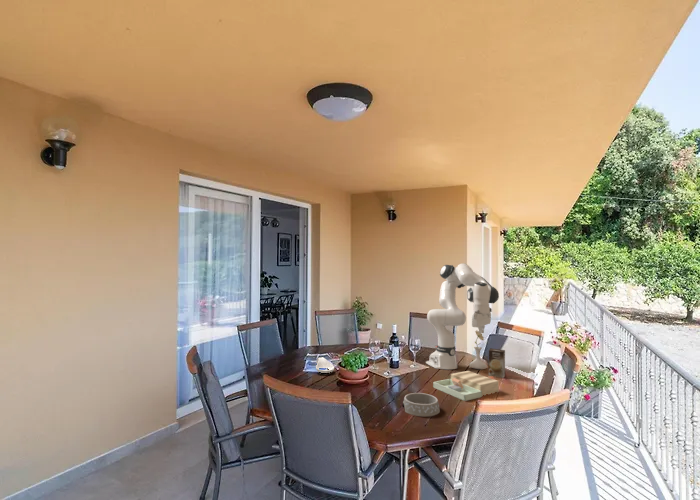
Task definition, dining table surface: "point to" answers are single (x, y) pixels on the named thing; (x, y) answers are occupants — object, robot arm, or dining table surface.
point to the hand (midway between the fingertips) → (481, 333)
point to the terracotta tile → (457, 382)
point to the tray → (464, 395)
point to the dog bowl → (421, 404)
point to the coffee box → (496, 363)
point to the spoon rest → (324, 365)
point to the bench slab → (477, 382)
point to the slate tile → (455, 388)
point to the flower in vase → (478, 355)
